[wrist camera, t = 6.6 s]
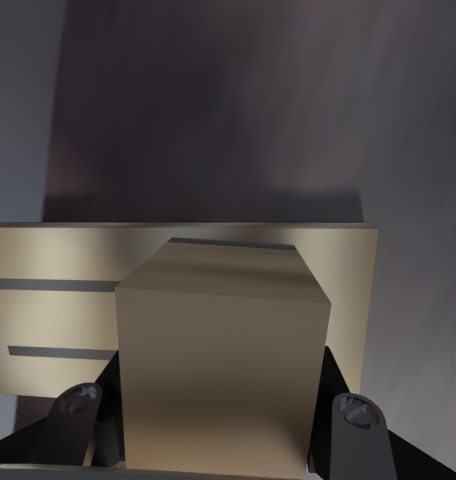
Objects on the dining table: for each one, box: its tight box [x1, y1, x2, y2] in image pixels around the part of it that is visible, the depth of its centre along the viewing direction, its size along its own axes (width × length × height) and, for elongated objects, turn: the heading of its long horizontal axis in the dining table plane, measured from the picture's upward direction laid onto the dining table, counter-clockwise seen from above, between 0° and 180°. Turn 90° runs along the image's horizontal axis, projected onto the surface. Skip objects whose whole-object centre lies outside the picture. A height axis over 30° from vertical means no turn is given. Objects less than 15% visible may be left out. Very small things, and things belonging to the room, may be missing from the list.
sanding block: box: [115, 237, 332, 480], centre depth 10 cm, size 9×5×5 cm, turn 177°
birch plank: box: [0, 222, 379, 398], centre depth 15 cm, size 24×10×2 cm, turn 91°
